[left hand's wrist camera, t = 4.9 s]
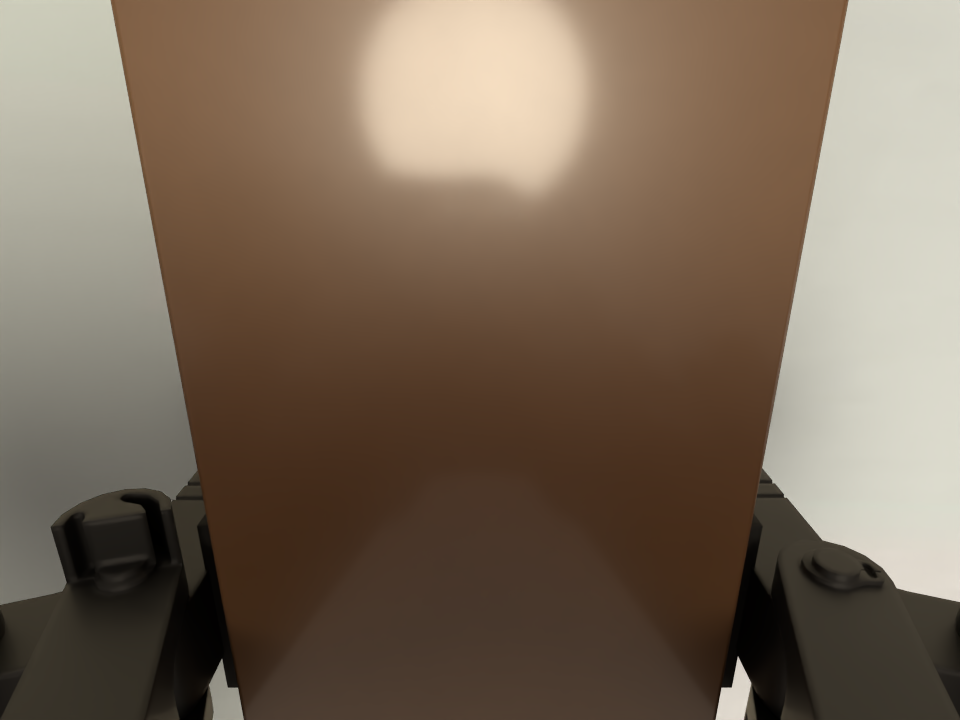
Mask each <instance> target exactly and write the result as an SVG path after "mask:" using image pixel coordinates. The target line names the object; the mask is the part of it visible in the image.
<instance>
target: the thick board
mask: <svg viewBox="0 0 960 720" xmlns="http://www.w3.org/2000/svg"><path fill="white" fill-rule="evenodd" d="M111 4H112V10H113V15H114V21H115V26H116V31H117V37H118V42H119V48H120V53H121V58H122V64H123V69H124V75H125V80H126V85H127V91H128V96H129V102H130V107H131V112H132V118H133V123H134V129H135V134H136V139H137V145H138V150H139V156H140V161H141V166H142V172H143V177H144V182H145V188H146V193H147V199H148V204H149V209H150V215H151V220H152V226H153V231H154V236H155V242H156V247H157V253H158V258H159V263H160V269H161V274H162V280H163V285H164V290H165V296H166V301H167V307H168V312H169V317H170V323H171V328H172V334H173V339H174V344H175V350H176V355H177V361H178V366H179V371H180V377H181V382H182V387H183V393H184V398H185V404H186V409H187V414H188V420H189V425H190V431H191V436H192V441H193V447H194V452H195V458H196V463H197V468H198V474H199V479H200V485H201V490H202V495H203V501H204V506H205V512H206V517H207V522H208V528H209V533H210V539H211V544H212V549H213V555H214V560H215V566H216V571H217V576H218V582H219V587H220V593H221V598H222V603H223V609H224V614H225V619H226V625H227V630H228V636H229V641H230V646H231V652H232V657H233V663H234V668H235V673H236V679H237V684H238V690H239V695H240V700H241V706H242V711H243V717H244V720H715V719H716V714H717V709H718V703H719V698H720V692H721V687H722V681H723V676H724V671H725V665H726V660H727V654H728V649H729V644H730V638H731V633H732V627H733V622H734V617H735V611H736V606H737V600H738V595H739V590H740V584H741V579H742V573H743V568H744V562H745V557H746V552H747V546H748V541H749V535H750V530H751V525H752V519H753V514H754V508H755V503H756V498H757V492H758V487H759V481H760V476H761V471H762V465H763V460H764V454H765V449H766V444H767V438H768V433H769V427H770V422H771V416H772V411H773V406H774V400H775V395H776V389H777V384H778V379H779V373H780V368H781V362H782V357H783V352H784V346H785V341H786V335H787V330H788V325H789V319H790V314H791V308H792V303H793V298H794V292H795V287H796V281H797V276H798V270H799V265H800V260H801V254H802V249H803V243H804V238H805V233H806V227H807V222H808V216H809V211H810V206H811V200H812V195H813V189H814V184H815V179H816V173H817V168H818V162H819V157H820V151H821V146H822V141H823V135H824V130H825V124H826V119H827V114H828V108H829V103H830V97H831V92H832V87H833V81H834V76H835V70H836V65H837V60H838V54H839V49H840V43H841V38H842V33H843V27H844V22H845V16H846V11H847V5H848V0H111Z"/></svg>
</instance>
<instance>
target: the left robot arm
mask: <svg viewBox="0 0 960 720" xmlns="http://www.w3.org/2000/svg"><path fill="white" fill-rule="evenodd" d="M51 530H52V533H53V537H54V540H55V543H56V547H57V550H58V554H59V557H60V561H61V564H62V567H63V571H64V574H65V578H66V581H67V584H66V586H65V588H64V590H63V591H62V592H59V593H55V594H51V595H46V596H41V597H37V598H32V599H27V600H22V601H17V602H13V603H8V604H3V605H0V720H212V719H213V705H212V698H211V693H210V688H209V684H210V682H211V679H212V677H213V675H214V673H215V671H216V669H217V667H218V665H219V663H220V661H221V659H222V660H223V665H224V670H225V675H226V680H227V685H228V688H238V684H237V679H236V673H235V668H234V663H233V657H232V652H231V646H230V641H229V636H228V630H227V625H226V619H225V614H224V609H223V603H222V598H221V593H220V587H219V582H218V576H217V571H216V566H215V560H214V555H213V549H212V544H211V539H210V533H209V528H208V522H207V517H206V512H205V506H204V501H203V495H202V490H201V485H200V479H199V474H198V471H197V472H196V473H195V474H194V476H193V477H192V478H191V479H190V481H189V482H188V486H185V487H184V488H183V489H182V490H181V491H180V493H179V494H178V495H177V496H176V500H173V501H172V502H171V500H170V498H169V497H167V496H166V495H165V494H164V493H162V492H161V491H156V490H151V489H146V488H144V489H125V490H120V491H116V492H111V493H107V494H102V495H100V496H97V497H95V498H92V499H90V500H87V501H85V502H82V503H80V504H78V505H77V506H75V507H74V508H72V509H70V510H69V511H67V512H65V513H64V514H62V515H61V516H60V517H59V519H58V520H57V521H56V522H55V523H54V524H53V525H52V526H51ZM737 657H739V659H740V661H741V663H742V665H743V667H744V669H745V671H746V673H747V675H748V677H749V679H750V681H751V688H750V693H749V698H748V702H747V707H746V712H745V717H744V720H960V602H956V601H951V600H946V599H942V598H937V597H932V596H927V595H922V594H918V593H913V592H908V591H904V590H901V589H897V588H896V587H895V585H894V583H893V581H892V580H891V578H890V577H889V576H888V575H887V573H886V572H885V571H884V570H883V568H881V567H880V566H879V565H877V564H876V563H875V562H873V561H872V560H870V559H869V558H868V557H866V556H865V555H862V554H860V553H858V552H856V551H854V550H852V549H849V548H847V547H845V546H842V545H838V544H834V543H830V542H826V541H822V539H821V538H820V537H819V536H818V535H817V533H816V532H815V531H814V530H813V529H812V527H811V526H810V525H809V524H808V523H807V521H806V520H805V519H804V518H803V517H802V515H801V514H800V513H799V512H798V511H797V509H796V508H795V507H794V506H793V505H792V503H791V502H790V501H789V500H788V499H787V498H784V494H783V493H782V492H781V490H780V489H779V488H778V487H777V486H776V484H772V480H771V478H770V477H769V476H768V475H767V474H766V472H765V471H764V470H763V469H762V471H761V476H760V481H759V487H758V492H757V498H756V503H755V508H754V514H753V519H752V525H751V530H750V535H749V541H748V546H747V552H746V557H745V562H744V568H743V573H742V579H741V584H740V590H739V595H738V600H737V606H736V611H735V617H734V622H733V627H732V633H731V638H730V644H729V649H728V654H727V660H726V665H725V671H724V676H723V681H722V687H732V683H733V678H734V673H735V668H736V663H737Z"/></svg>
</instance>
